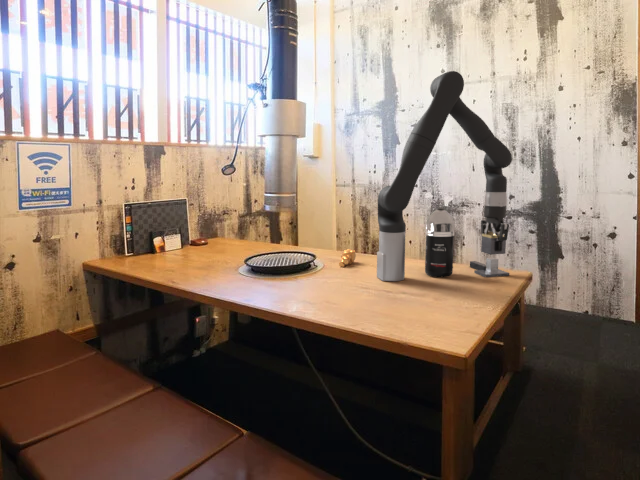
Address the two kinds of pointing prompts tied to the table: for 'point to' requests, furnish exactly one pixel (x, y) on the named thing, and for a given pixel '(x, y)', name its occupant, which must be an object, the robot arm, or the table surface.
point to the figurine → (347, 257)
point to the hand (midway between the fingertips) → (493, 249)
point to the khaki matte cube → (491, 244)
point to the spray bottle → (439, 244)
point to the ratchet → (488, 268)
